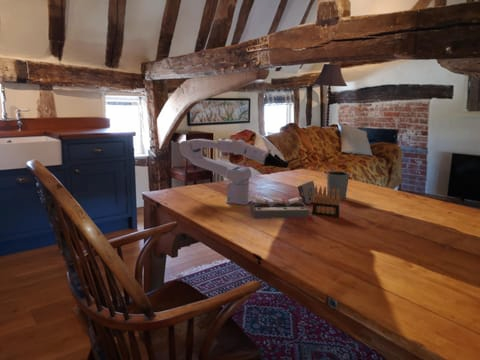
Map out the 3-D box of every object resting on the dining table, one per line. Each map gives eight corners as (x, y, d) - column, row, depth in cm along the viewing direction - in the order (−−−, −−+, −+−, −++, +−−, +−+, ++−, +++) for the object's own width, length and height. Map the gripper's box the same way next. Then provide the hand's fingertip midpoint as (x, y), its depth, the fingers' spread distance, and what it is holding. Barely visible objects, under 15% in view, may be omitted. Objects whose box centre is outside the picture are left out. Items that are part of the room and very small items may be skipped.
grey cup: (323, 199, 171) (325, 174, 168) (327, 193, 180) (328, 169, 177) (346, 201, 167) (348, 176, 164) (348, 196, 176) (350, 171, 173)
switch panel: (253, 218, 143) (254, 209, 142) (250, 209, 155) (250, 201, 154) (308, 217, 145) (309, 209, 144) (301, 208, 156) (302, 200, 156)
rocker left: (255, 202, 148) (256, 199, 148) (254, 200, 151) (255, 196, 151) (267, 205, 149) (268, 202, 148) (266, 203, 152) (267, 199, 151)
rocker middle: (272, 202, 148) (273, 198, 148) (271, 199, 151) (272, 196, 151) (284, 205, 149) (285, 201, 149) (283, 202, 152) (284, 199, 152)
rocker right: (290, 205, 149) (289, 201, 149) (289, 202, 152) (288, 199, 152) (302, 201, 149) (302, 198, 149) (300, 199, 152) (300, 196, 152)
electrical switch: (307, 205, 161) (306, 184, 160) (297, 203, 165) (296, 183, 163) (317, 200, 168) (316, 180, 167) (307, 199, 172) (306, 180, 170)
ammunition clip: (311, 214, 149) (313, 186, 146) (312, 213, 150) (314, 185, 147) (338, 217, 145) (341, 188, 142) (339, 216, 147) (341, 187, 144)
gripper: (254, 144, 149) (284, 155, 144) (265, 146, 162) (292, 157, 158) (248, 160, 150) (277, 172, 145) (259, 161, 163) (287, 172, 159)
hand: (285, 165), depth 152 cm, fingers open, 7 cm apart
